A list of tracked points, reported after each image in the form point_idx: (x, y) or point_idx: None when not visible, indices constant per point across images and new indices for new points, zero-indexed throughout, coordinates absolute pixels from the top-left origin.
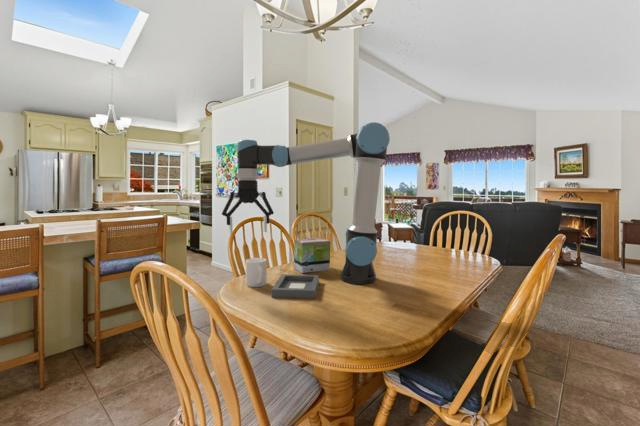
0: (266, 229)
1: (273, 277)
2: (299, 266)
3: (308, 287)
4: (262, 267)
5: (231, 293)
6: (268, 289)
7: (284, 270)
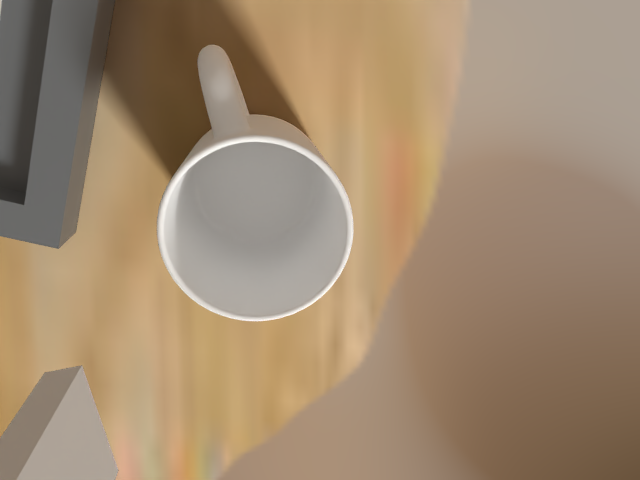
0: (26, 402)
1: (140, 320)
2: None
3: None
4: (198, 147)
5: (418, 15)
6: (168, 54)
7: None
